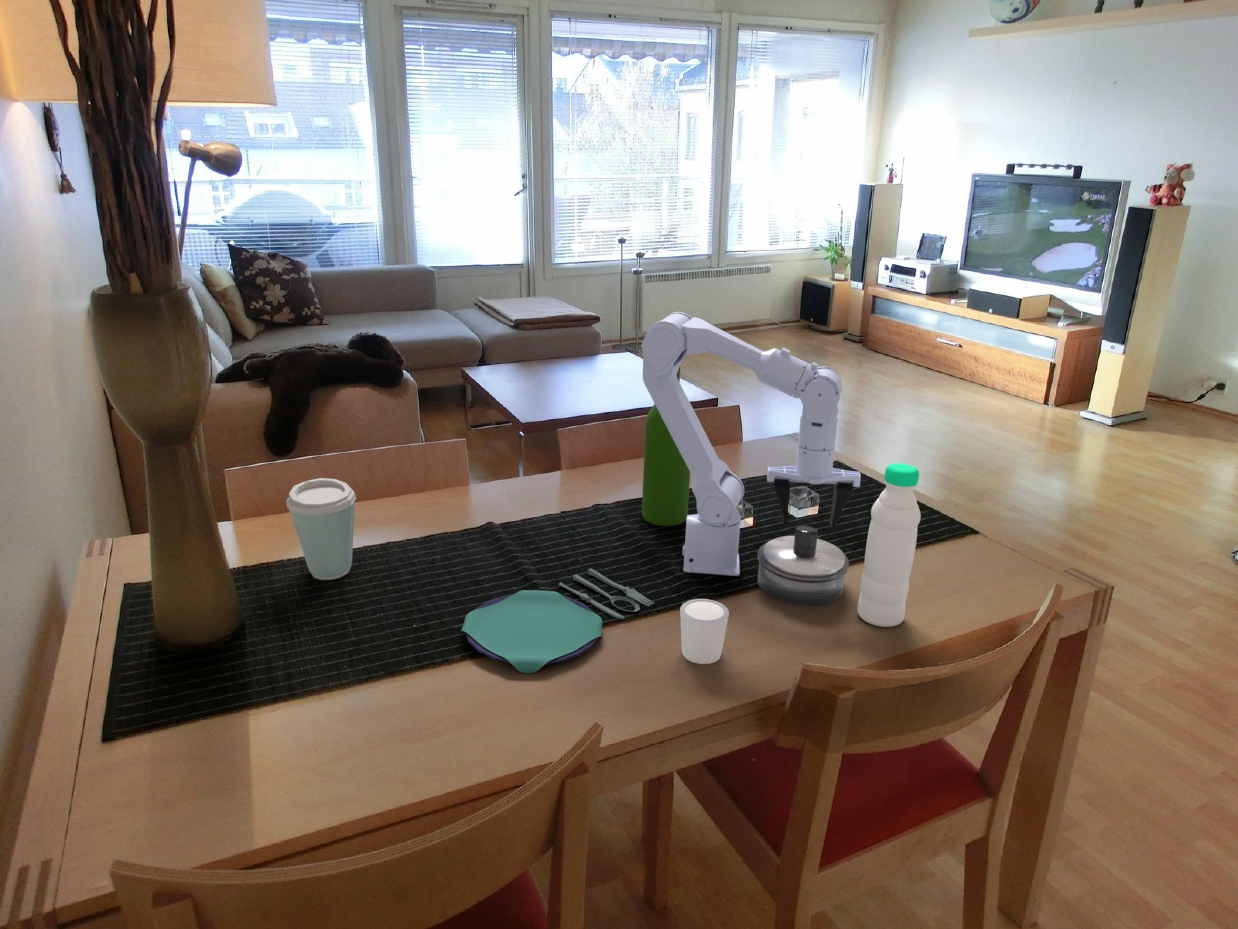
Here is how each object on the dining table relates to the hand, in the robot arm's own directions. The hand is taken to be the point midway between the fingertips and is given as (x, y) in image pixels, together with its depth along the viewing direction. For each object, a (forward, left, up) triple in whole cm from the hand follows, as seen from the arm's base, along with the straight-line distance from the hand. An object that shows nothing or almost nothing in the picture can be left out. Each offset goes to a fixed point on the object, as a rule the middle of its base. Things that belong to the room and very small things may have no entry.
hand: (808, 523), depth 140 cm
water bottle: (+11, -10, -11) cm, 19 cm away
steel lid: (-1, -2, -5) cm, 6 cm away
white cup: (-17, -25, -11) cm, 32 cm away
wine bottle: (-25, +22, -11) cm, 35 cm away
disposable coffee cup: (-79, -10, -11) cm, 80 cm away
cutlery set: (-38, -19, -11) cm, 44 cm away
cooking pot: (-1, -2, -10) cm, 11 cm away
